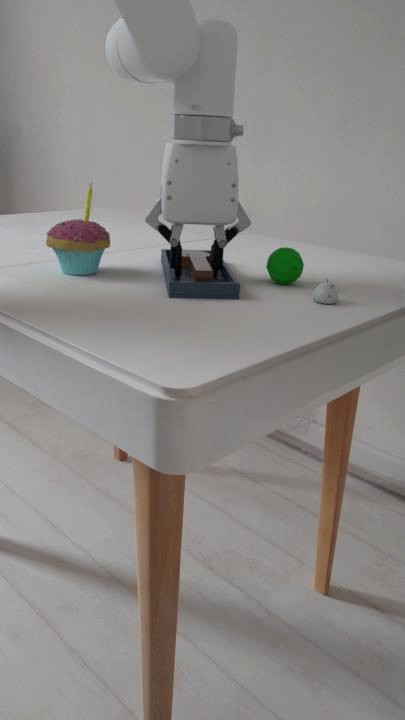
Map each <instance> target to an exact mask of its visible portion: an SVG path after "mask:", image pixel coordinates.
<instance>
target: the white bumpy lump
mask: <svg viewBox="0 0 405 720" xmlns="http://www.w3.org/2000/svg"><path fill="white" fill-rule="evenodd" d="M311 293H312V294H311V297H312V299H313V301H314V302H316V303H317V302H319V303H318V304H321V303H323V305H334V304H336V303H337V302H338V300H339V293H338V290H337V289H336V287H335V284H333V283H331V282H329V280H328V278H326V281H325V282H322V283H319V284H318V285H317V286H316V287H315V288H314V290H313V291H312V292H311ZM333 303H334V304H333Z"/></svg>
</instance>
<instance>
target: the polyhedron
mask: <svg viewBox="0 0 405 720" xmlns="http://www.w3.org/2000/svg"><path fill="white" fill-rule="evenodd" d="M304 266H305V264H304V261H303V258H302V255H301V253H300V252H298V251H297V250H296V249H294V248H291V247H287V246H286V247H279V248H277V249H275V250H274V251H272V252H271V253H270V254H269V256H268V259H267V262H266V270H267V273H268V275H269V278H270V279H271V280H272V281H273V282H275V283H276V284H279V285H290V284H293V283H295V282H296V281H297V280H298V279H299V278H300V277H301V276H302V274H303V271H304Z"/></svg>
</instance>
